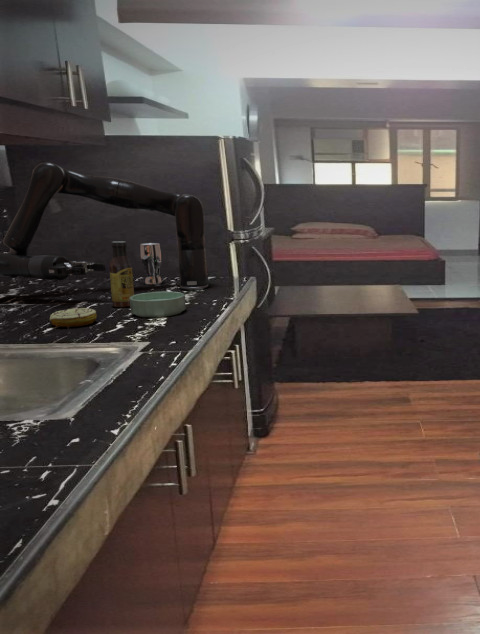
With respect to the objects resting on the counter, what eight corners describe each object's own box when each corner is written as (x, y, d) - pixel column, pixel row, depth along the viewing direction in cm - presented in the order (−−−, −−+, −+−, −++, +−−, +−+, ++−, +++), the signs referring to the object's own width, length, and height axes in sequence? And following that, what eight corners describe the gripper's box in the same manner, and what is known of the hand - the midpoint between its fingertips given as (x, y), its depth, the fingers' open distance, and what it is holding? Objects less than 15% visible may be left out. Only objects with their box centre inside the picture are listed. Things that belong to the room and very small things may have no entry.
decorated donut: (66, 319, 167) (64, 306, 166) (104, 319, 166) (103, 306, 166) (42, 328, 156) (40, 314, 156) (83, 328, 156) (82, 314, 156)
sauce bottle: (126, 308, 181) (119, 243, 177) (108, 307, 182) (101, 242, 178) (140, 304, 187) (134, 241, 183) (122, 303, 189) (116, 240, 184)
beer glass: (158, 285, 222) (155, 244, 219) (139, 285, 222) (136, 244, 219) (166, 282, 229) (163, 243, 226) (148, 282, 229) (145, 242, 226)
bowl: (152, 306, 185) (150, 290, 184) (195, 308, 182) (194, 292, 181) (119, 316, 171) (117, 299, 169) (166, 319, 168) (165, 301, 167)
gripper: (28, 258, 180) (76, 260, 177) (65, 253, 193) (109, 254, 190) (32, 282, 181) (79, 285, 178) (68, 276, 195) (112, 277, 192)
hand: (94, 269), depth 184 cm, fingers open, 8 cm apart
